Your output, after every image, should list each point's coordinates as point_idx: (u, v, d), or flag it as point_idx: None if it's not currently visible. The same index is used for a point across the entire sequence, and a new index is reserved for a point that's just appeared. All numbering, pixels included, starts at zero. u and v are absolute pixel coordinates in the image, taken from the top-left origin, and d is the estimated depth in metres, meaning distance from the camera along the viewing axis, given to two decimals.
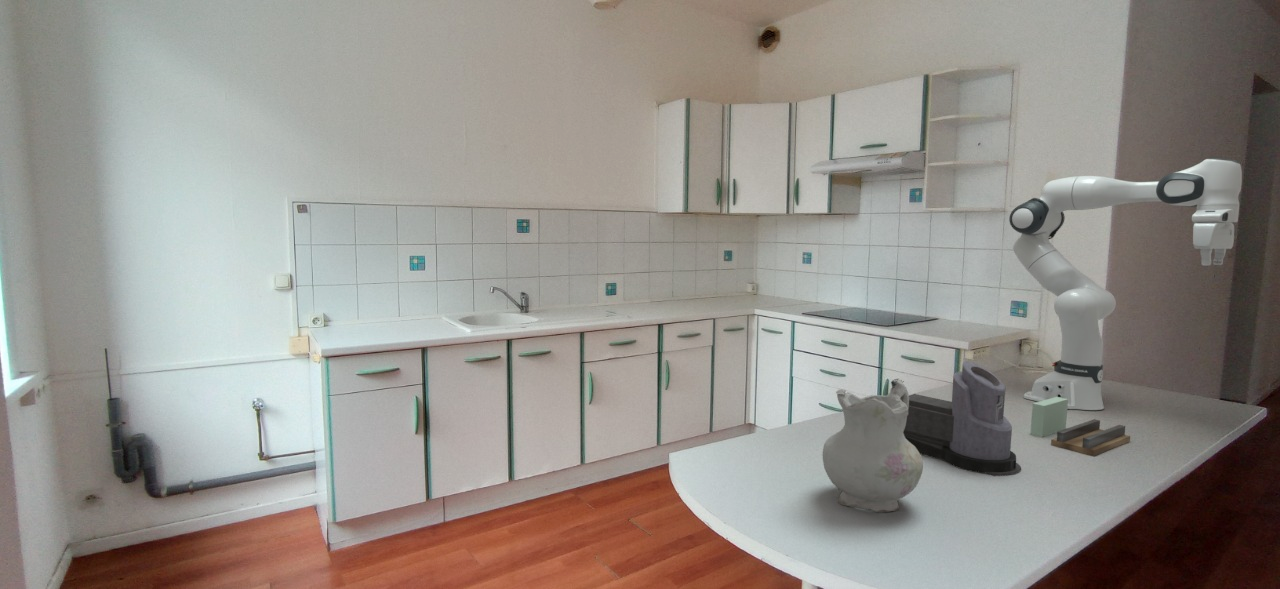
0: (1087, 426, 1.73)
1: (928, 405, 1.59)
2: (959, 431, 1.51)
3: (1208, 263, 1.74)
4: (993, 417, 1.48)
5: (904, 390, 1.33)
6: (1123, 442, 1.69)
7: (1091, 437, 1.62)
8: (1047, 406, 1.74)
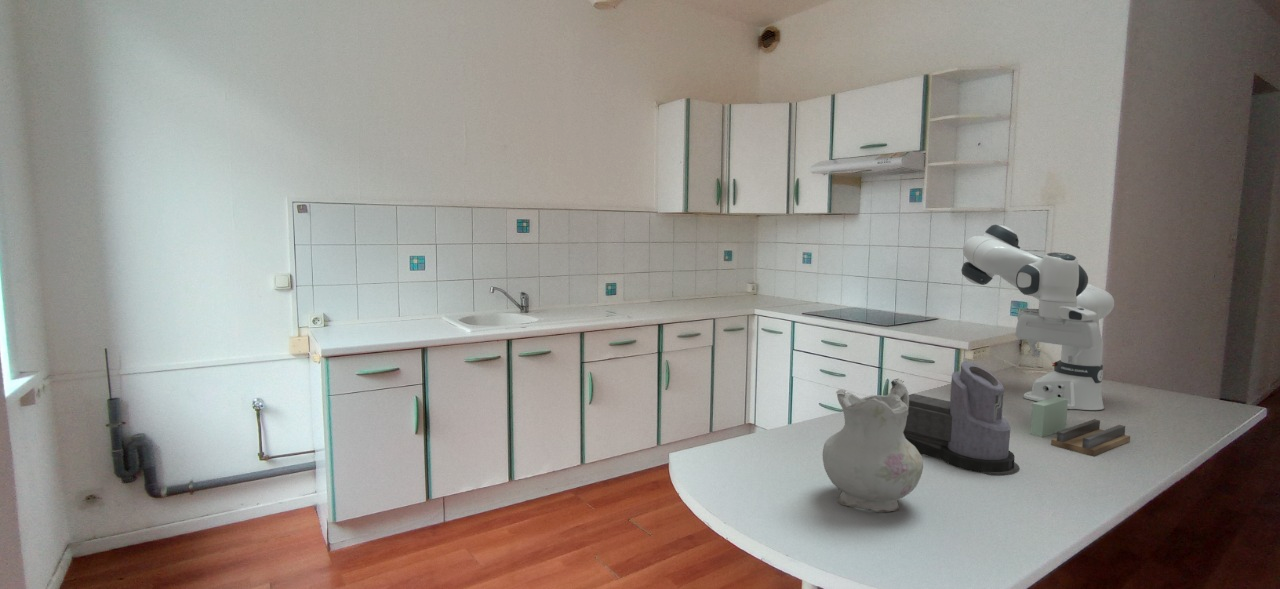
0: (1087, 426, 1.73)
1: (926, 405, 1.60)
2: (957, 430, 1.52)
3: (1076, 360, 1.73)
4: (991, 417, 1.49)
5: (904, 390, 1.33)
6: (1123, 442, 1.69)
7: (1091, 437, 1.62)
8: (1047, 406, 1.74)
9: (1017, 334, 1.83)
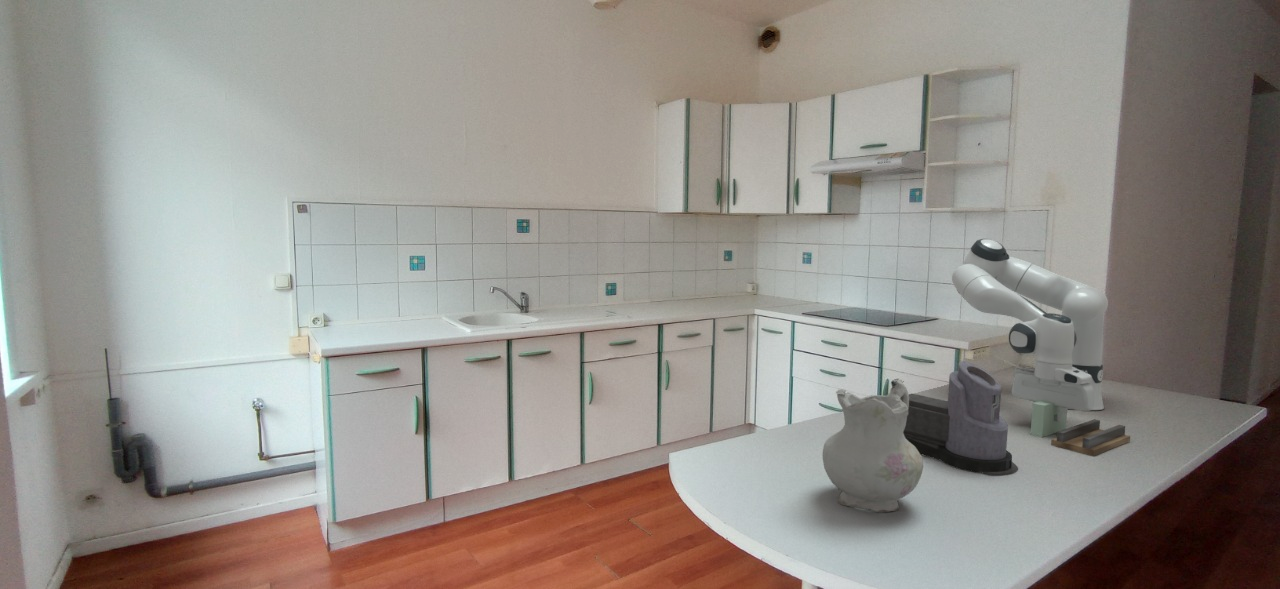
0: (1087, 426, 1.73)
1: (924, 405, 1.60)
2: (955, 430, 1.52)
3: (1061, 419, 1.77)
4: (988, 417, 1.49)
5: (904, 390, 1.33)
6: (1123, 442, 1.69)
7: (1091, 437, 1.62)
8: (1047, 406, 1.74)
9: (1013, 392, 1.85)
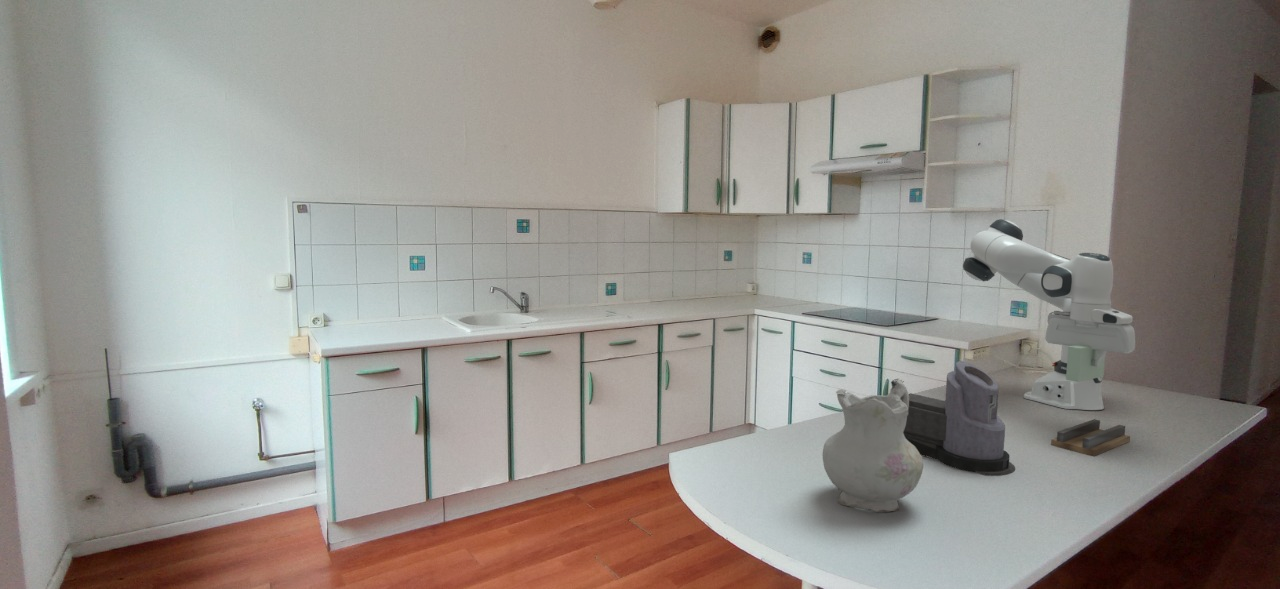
0: (1087, 426, 1.73)
1: (922, 404, 1.60)
2: (952, 430, 1.52)
3: (1099, 364, 1.67)
4: (985, 417, 1.49)
5: (904, 390, 1.33)
6: (1123, 442, 1.69)
7: (1091, 437, 1.62)
8: (1084, 349, 1.65)
9: (1047, 338, 1.76)
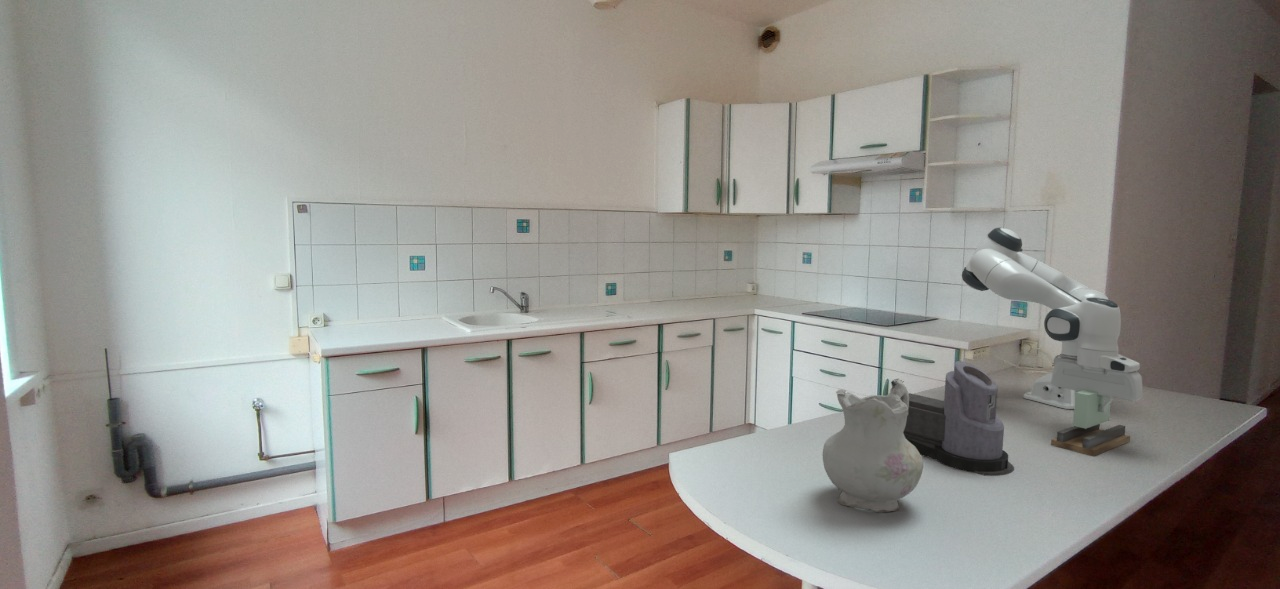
0: None
1: (921, 404, 1.60)
2: (950, 430, 1.52)
3: (1106, 409, 1.66)
4: (984, 417, 1.49)
5: (904, 390, 1.33)
6: (1123, 442, 1.69)
7: (1091, 437, 1.62)
8: (1091, 395, 1.64)
9: (1053, 381, 1.75)
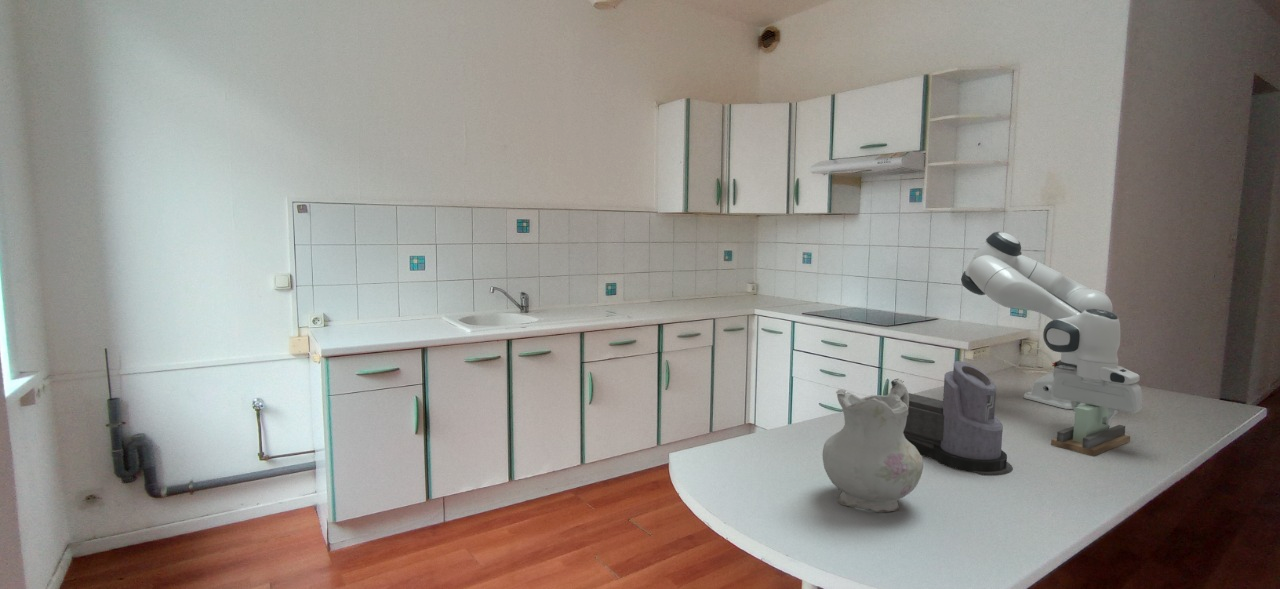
0: None
1: (920, 404, 1.60)
2: (949, 430, 1.52)
3: (1110, 422, 1.66)
4: (982, 417, 1.49)
5: (904, 390, 1.33)
6: (1123, 442, 1.69)
7: (1091, 437, 1.62)
8: (1091, 410, 1.64)
9: (1053, 392, 1.75)
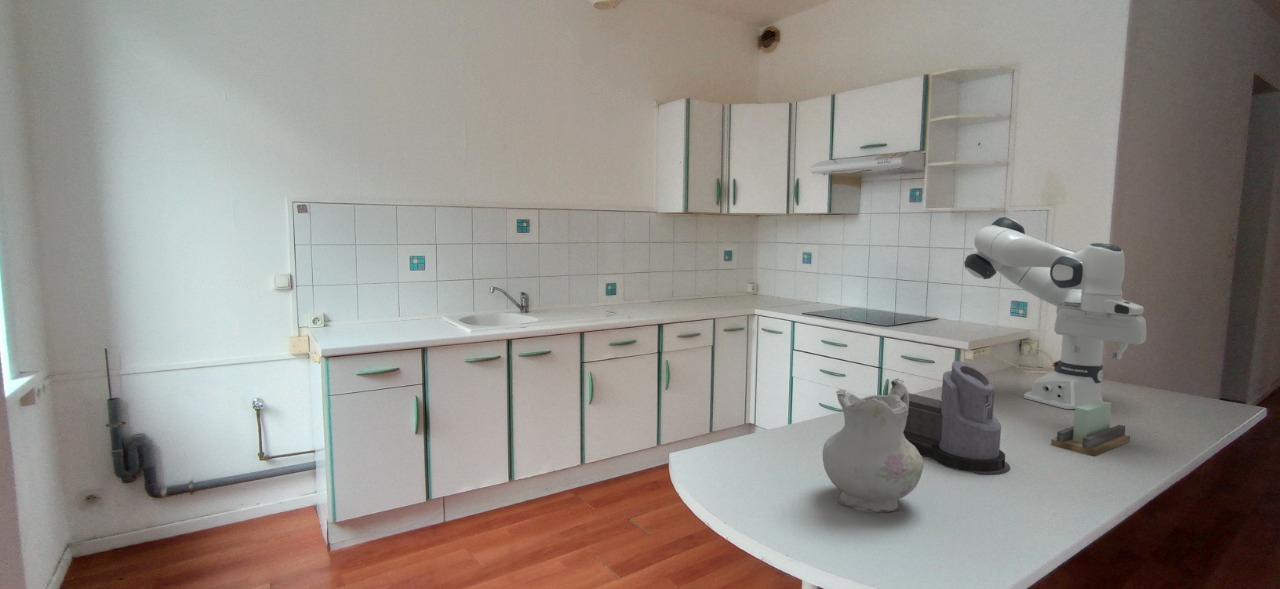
0: None
1: (918, 404, 1.60)
2: (947, 429, 1.52)
3: (1121, 356, 1.64)
4: (980, 417, 1.49)
5: (904, 390, 1.33)
6: (1123, 442, 1.69)
7: (1091, 437, 1.62)
8: (1091, 410, 1.64)
9: (1056, 329, 1.74)
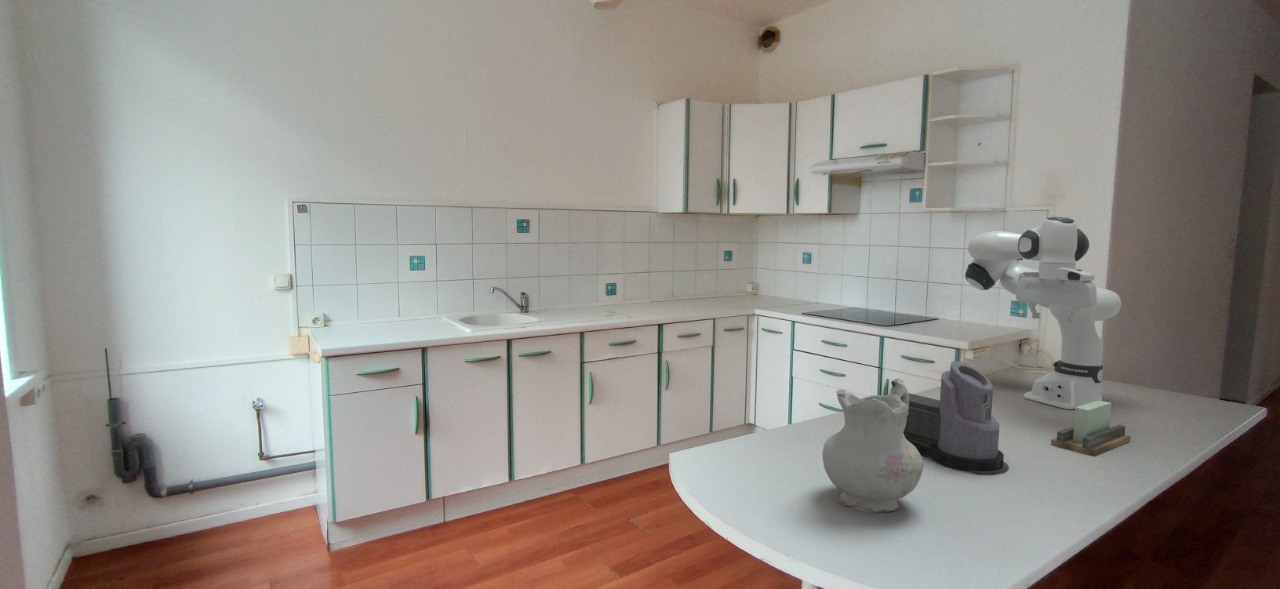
0: None
1: (917, 404, 1.60)
2: (945, 429, 1.52)
3: (1074, 320, 1.79)
4: (979, 417, 1.49)
5: (904, 390, 1.33)
6: (1123, 442, 1.69)
7: (1091, 437, 1.62)
8: (1091, 410, 1.64)
9: (1017, 297, 1.89)
